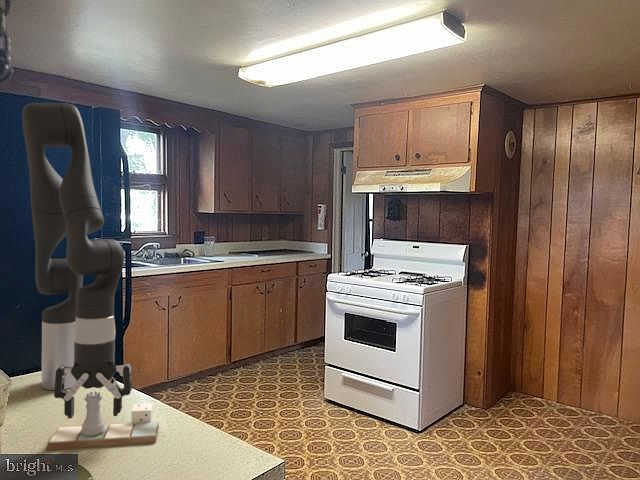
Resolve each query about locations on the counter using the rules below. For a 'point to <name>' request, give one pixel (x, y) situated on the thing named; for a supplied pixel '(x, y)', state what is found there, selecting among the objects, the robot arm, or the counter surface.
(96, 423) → the rook chess piece
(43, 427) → the counter surface
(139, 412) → the die
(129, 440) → the board
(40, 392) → the counter surface
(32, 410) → the counter surface
